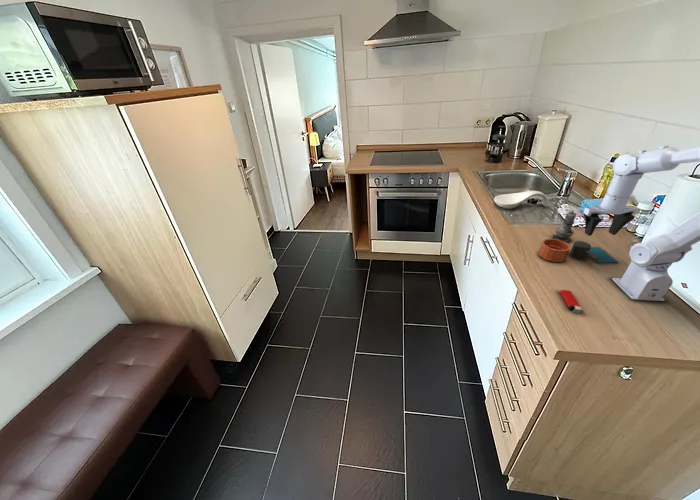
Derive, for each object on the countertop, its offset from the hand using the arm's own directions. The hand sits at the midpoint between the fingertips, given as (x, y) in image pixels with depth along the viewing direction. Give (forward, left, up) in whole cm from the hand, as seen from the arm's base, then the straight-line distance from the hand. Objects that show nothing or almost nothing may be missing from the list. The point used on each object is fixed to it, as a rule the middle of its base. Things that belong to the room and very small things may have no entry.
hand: (599, 233), depth 94 cm
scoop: (-2, +3, -9) cm, 10 cm away
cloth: (+2, -4, -9) cm, 10 cm away
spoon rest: (+44, +8, -10) cm, 46 cm away
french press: (+122, -1, -10) cm, 122 cm away
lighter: (-24, +17, -10) cm, 31 cm away
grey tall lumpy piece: (+13, +3, -10) cm, 16 cm away
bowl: (0, +12, -9) cm, 15 cm away
